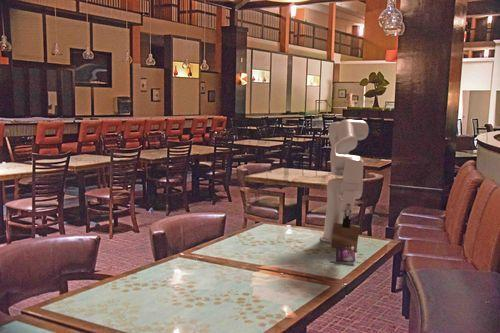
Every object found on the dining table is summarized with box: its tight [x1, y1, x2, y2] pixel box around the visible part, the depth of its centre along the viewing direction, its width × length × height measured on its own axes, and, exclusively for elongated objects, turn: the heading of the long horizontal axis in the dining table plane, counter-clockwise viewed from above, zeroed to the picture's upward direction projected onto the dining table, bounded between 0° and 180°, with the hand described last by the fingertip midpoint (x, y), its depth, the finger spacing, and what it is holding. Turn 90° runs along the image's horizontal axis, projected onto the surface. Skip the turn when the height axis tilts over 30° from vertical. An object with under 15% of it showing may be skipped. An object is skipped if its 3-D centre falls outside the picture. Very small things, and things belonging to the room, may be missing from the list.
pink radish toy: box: [334, 246, 356, 263], centre depth 226 cm, size 7×5×9 cm
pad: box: [330, 255, 355, 267], centre depth 226 cm, size 8×10×1 cm
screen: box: [330, 223, 360, 253], centre depth 244 cm, size 2×12×12 cm, turn 78°
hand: (346, 224), depth 224 cm, fingers open, 9 cm apart
